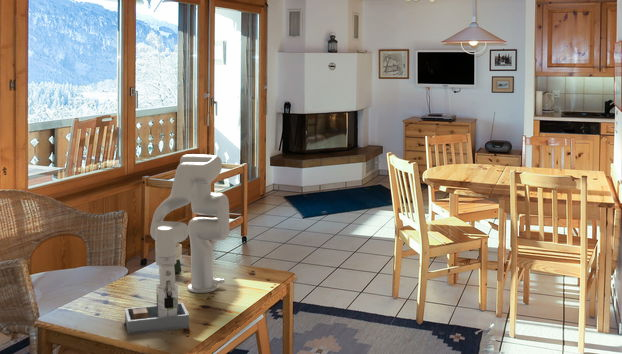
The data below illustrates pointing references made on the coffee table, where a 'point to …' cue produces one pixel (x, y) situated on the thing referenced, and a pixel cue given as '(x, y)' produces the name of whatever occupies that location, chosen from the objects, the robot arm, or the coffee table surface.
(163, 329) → the tote
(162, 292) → the syrup box
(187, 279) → the coffee table surface
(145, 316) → the walnut cube
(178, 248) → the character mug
